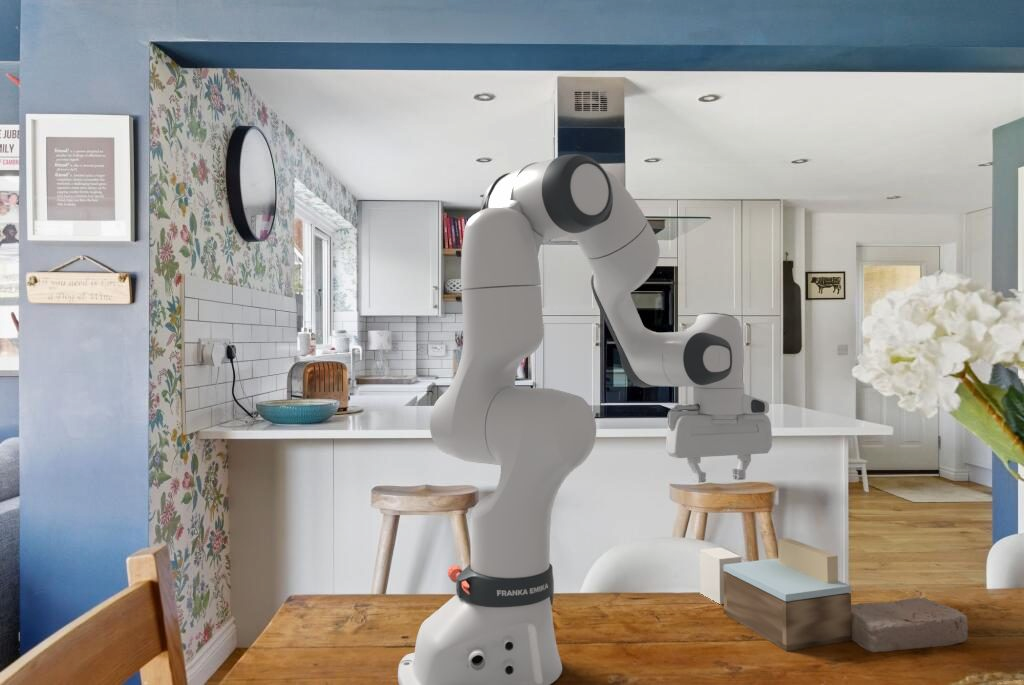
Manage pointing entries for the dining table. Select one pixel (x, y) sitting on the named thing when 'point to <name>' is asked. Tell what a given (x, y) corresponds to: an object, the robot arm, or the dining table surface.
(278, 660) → the dining table surface
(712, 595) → the block
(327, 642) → the dining table surface
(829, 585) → the lid
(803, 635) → the dark wood box
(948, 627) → the brick
